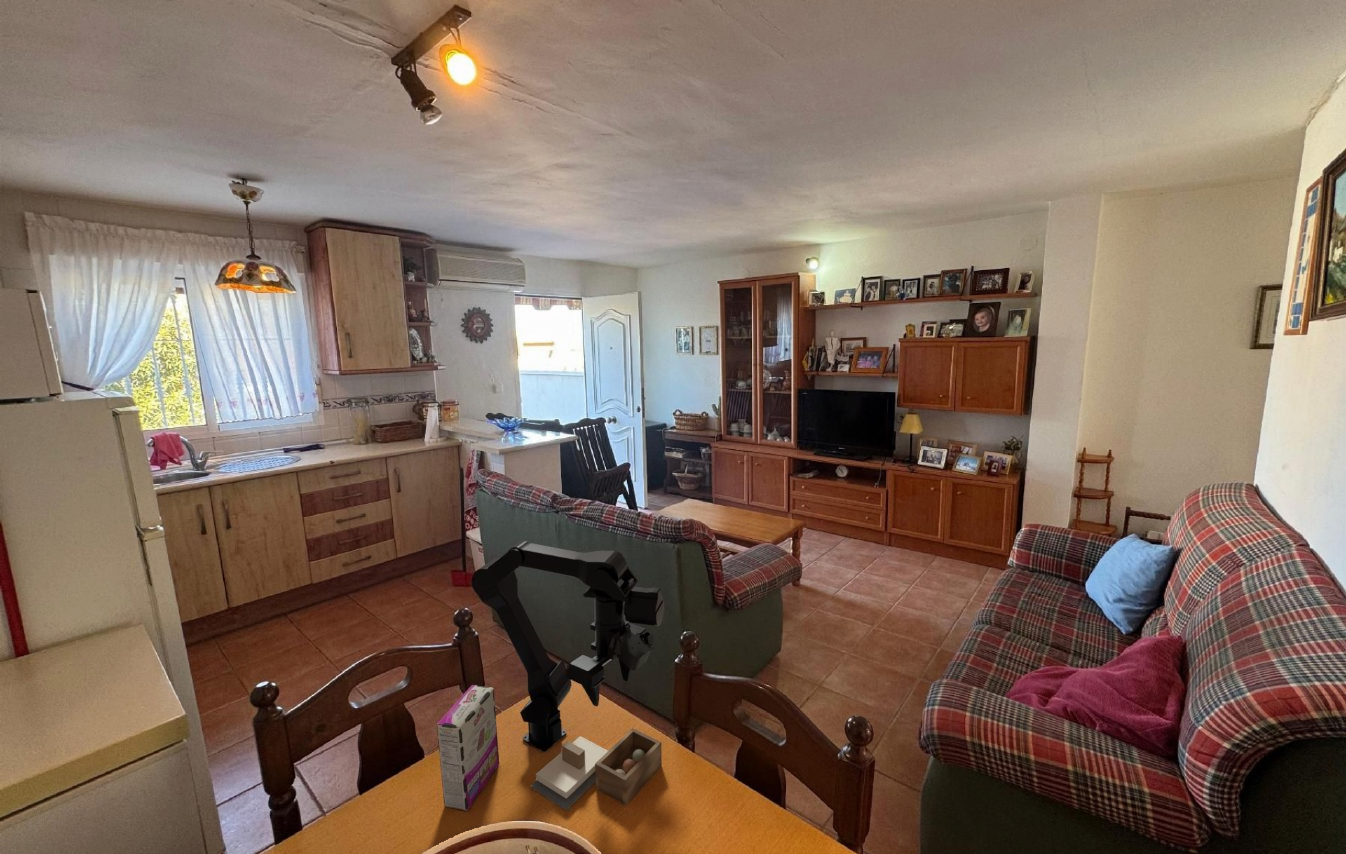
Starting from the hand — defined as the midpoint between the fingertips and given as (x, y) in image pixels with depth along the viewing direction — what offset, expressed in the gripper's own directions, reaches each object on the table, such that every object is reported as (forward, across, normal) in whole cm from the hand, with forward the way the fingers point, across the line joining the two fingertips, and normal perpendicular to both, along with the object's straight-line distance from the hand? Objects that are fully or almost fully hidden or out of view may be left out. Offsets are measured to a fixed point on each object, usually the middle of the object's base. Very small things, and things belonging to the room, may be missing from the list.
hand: (611, 692), depth 106 cm
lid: (+11, -9, +2) cm, 14 cm away
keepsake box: (+12, -4, -7) cm, 15 cm away
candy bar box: (+13, -21, +16) cm, 29 cm away
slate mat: (+12, -9, +2) cm, 16 cm away
